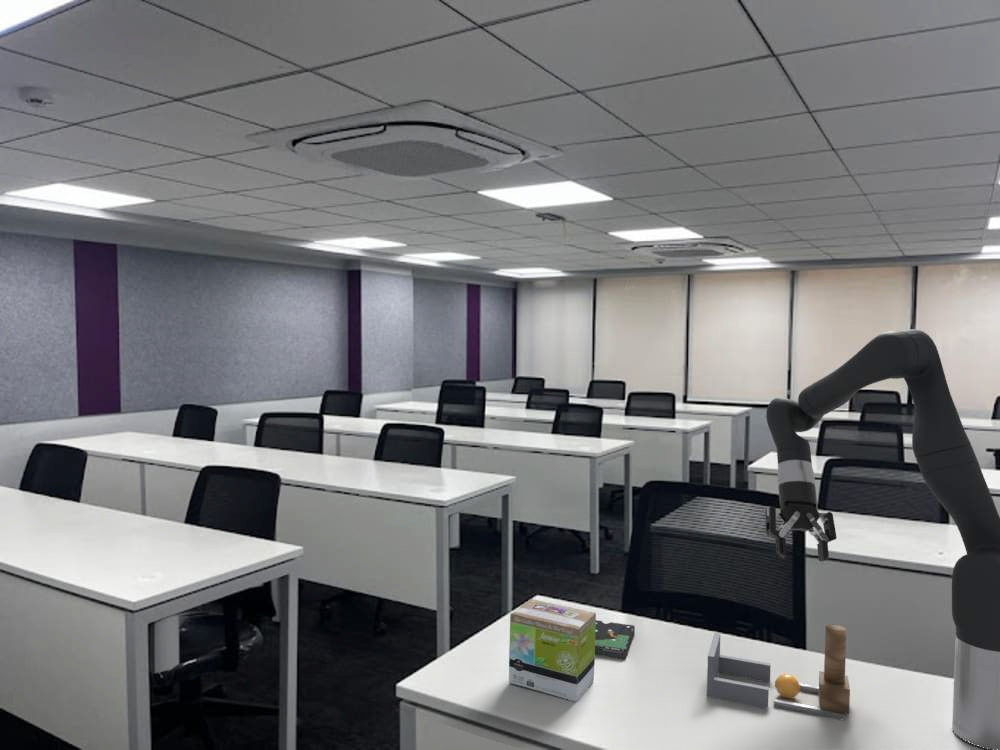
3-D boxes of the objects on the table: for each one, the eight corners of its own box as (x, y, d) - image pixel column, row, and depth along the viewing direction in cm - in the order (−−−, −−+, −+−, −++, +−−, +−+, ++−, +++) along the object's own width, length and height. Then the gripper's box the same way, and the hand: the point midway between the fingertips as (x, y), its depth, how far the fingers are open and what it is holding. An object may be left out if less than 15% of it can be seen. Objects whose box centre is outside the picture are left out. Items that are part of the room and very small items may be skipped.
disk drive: (591, 630, 170) (579, 655, 156) (591, 619, 170) (580, 642, 156) (634, 636, 167) (626, 661, 153) (635, 624, 167) (627, 649, 153)
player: (846, 699, 136) (849, 625, 135) (849, 714, 130) (851, 636, 130) (818, 694, 138) (821, 620, 137) (819, 708, 132) (822, 631, 132)
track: (840, 695, 138) (840, 690, 138) (843, 720, 129) (844, 714, 129) (775, 683, 143) (775, 678, 143) (773, 706, 134) (773, 701, 134)
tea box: (507, 685, 141) (508, 612, 140) (528, 665, 149) (529, 597, 149) (577, 704, 134) (578, 627, 133) (595, 682, 142) (597, 610, 142)
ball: (791, 691, 140) (792, 669, 140) (803, 702, 136) (804, 679, 135) (770, 692, 139) (771, 670, 139) (782, 703, 135) (783, 680, 135)
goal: (770, 680, 144) (771, 641, 144) (767, 708, 133) (769, 666, 133) (713, 669, 149) (714, 632, 148) (706, 696, 137) (707, 655, 137)
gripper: (771, 476, 151) (777, 552, 145) (836, 483, 152) (845, 559, 145) (757, 485, 158) (762, 558, 152) (820, 491, 158) (827, 565, 152)
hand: (803, 558), depth 148 cm, fingers open, 8 cm apart
